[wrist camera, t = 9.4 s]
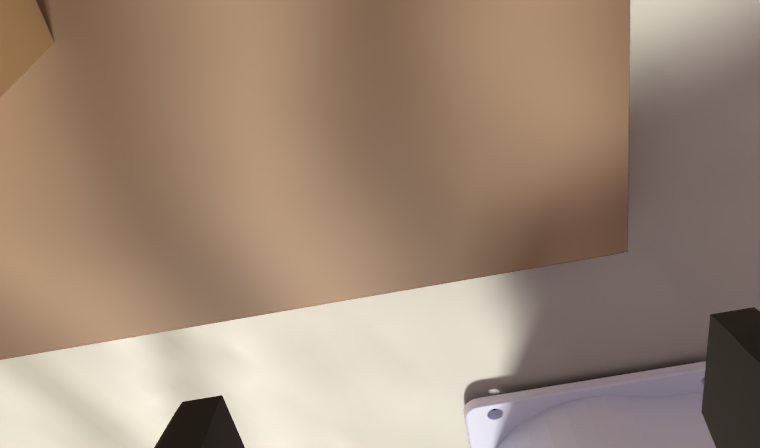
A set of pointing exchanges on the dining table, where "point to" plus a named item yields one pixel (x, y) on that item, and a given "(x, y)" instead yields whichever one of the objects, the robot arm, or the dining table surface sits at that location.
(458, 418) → the dining table surface
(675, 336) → the dining table surface
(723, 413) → the robot arm
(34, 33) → the square hole block
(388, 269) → the board
